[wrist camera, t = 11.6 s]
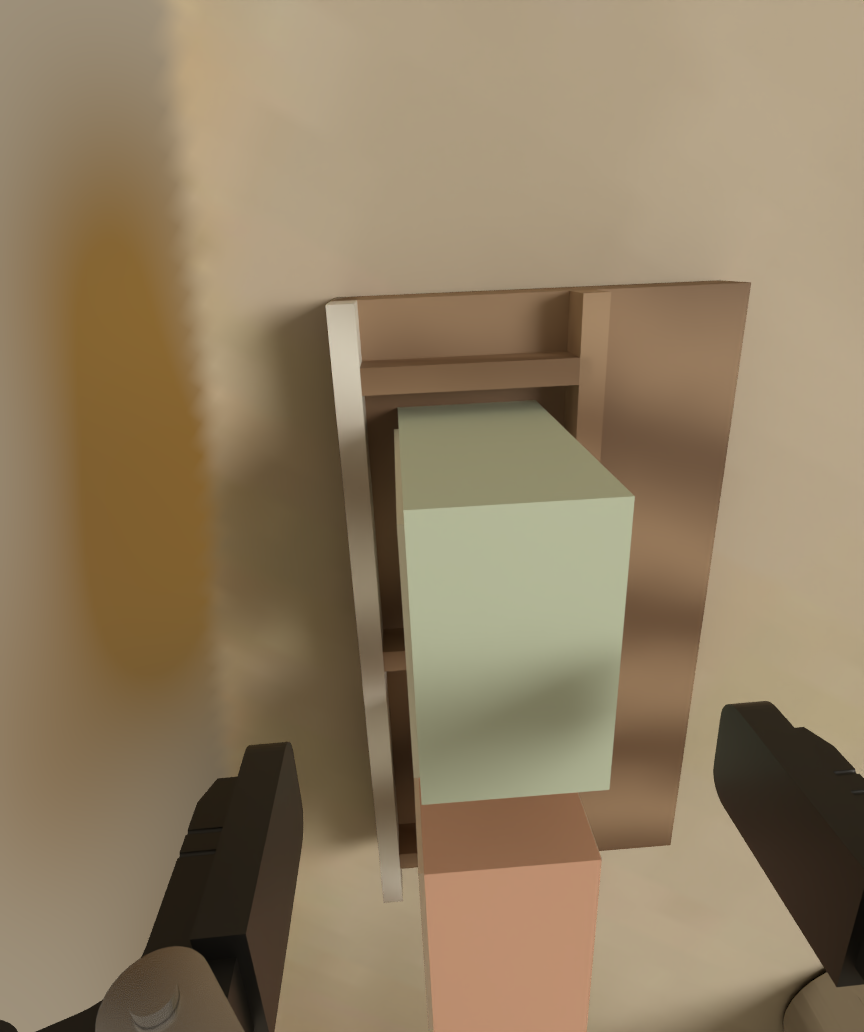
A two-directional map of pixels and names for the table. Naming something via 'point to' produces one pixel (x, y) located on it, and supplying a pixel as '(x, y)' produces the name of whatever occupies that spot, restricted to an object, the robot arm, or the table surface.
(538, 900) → the terracotta tea box
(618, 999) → the table surface
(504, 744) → the sage tea box
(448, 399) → the display rack
